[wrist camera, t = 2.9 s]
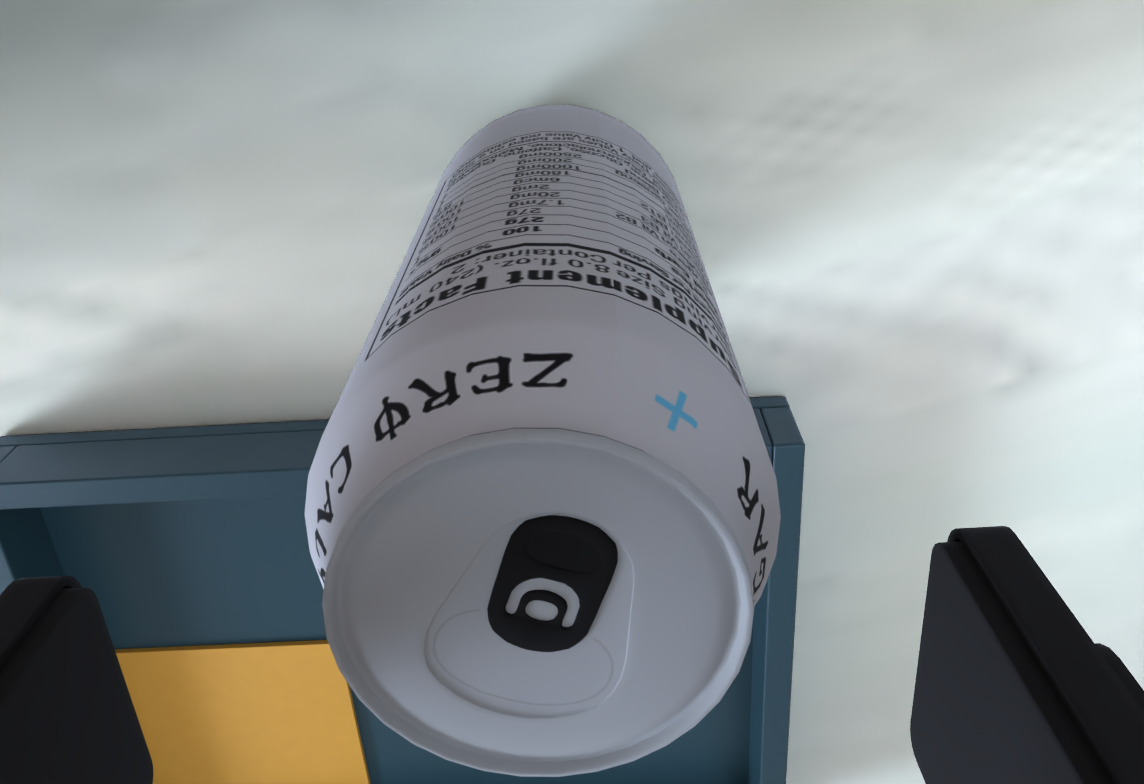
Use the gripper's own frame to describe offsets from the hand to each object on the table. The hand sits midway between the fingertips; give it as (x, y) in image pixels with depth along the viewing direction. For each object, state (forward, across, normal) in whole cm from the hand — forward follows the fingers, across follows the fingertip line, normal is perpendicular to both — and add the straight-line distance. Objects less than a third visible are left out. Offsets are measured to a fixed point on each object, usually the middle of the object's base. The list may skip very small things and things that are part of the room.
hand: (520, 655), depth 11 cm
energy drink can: (+15, 0, -1) cm, 15 cm away
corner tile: (+15, +11, +15) cm, 24 cm away
